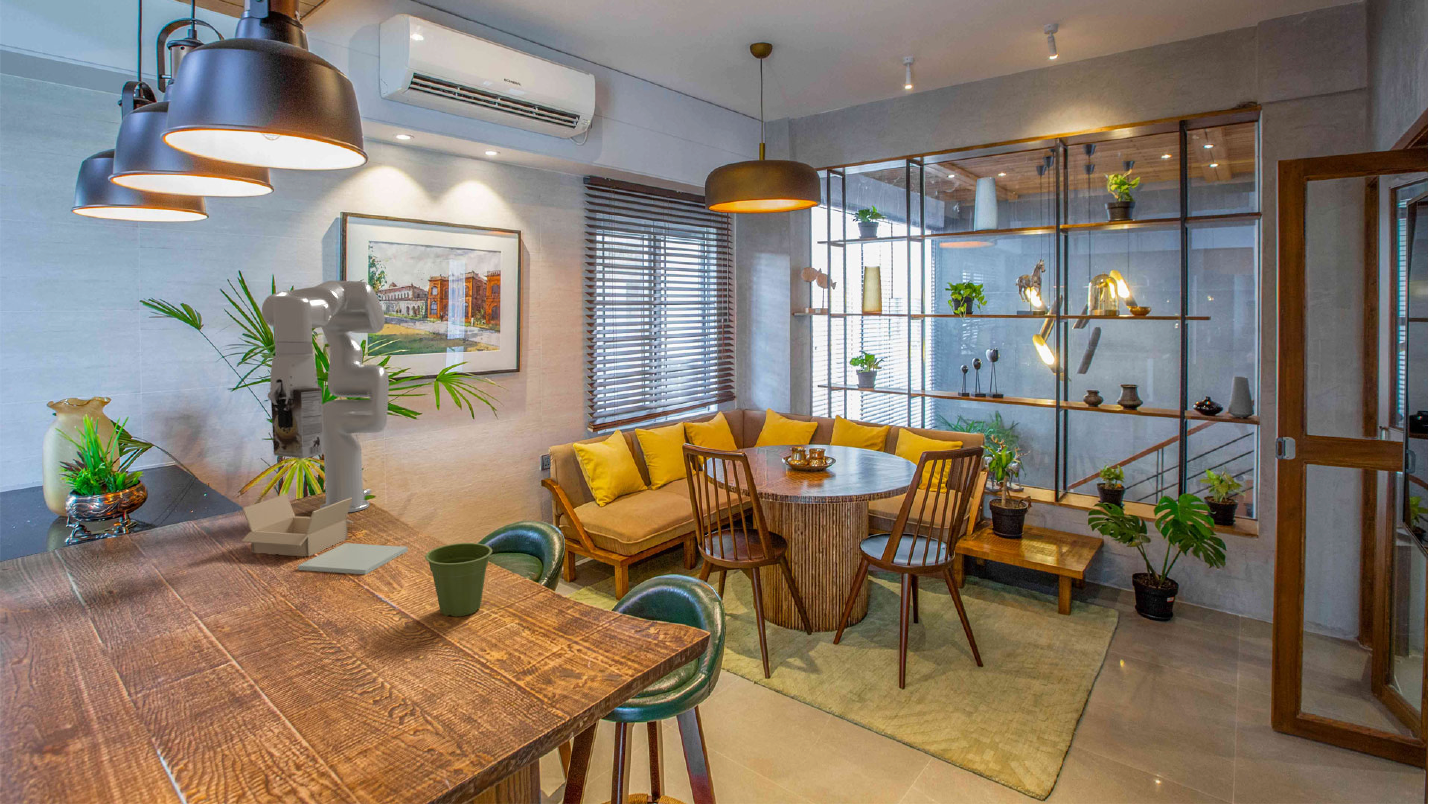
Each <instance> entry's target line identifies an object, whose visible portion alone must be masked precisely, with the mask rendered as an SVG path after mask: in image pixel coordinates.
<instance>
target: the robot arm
mask: <svg viewBox="0 0 1429 804" xmlns="http://www.w3.org/2000/svg"><path fill="white" fill-rule="evenodd" d="M261 306H262V307H261V314H262V318H263V320H264V321H265V323H266V324H267V325H269V326H270V327H272V328H273V332H274V334H273V335H274V351H275V353H274V354H275V355H273V356H272V361H271V369H270V388H271V390H270V391H269V392H268V393H267V398H268V400H270V403H271V402H272V404H273V405H274V406H275V409H276V410H278V426H279V427H282V428H291V427H292V426H293V423H292V410H289V409H290V406H291V399H292V398H293V390H294V389H300V388H322V387H321V385H320V384H319V383H318V373H317V367H316V361H315V356H314V353H313V329H319V328H321V330H322V332H323V334H324V336H325V339H326V341H327V343H328V346H329V353H330V354H329V363H328V365H329V366H328V375H327V387H328V388H327V389H328V391H329V393H330V394H331V395H332V396H334V397H340V398H369V399H336V400H335V399H334V400H333V399H332V400H329V401H326V402H325V403H322V416H323V446H324V454H323V458H324V459H323V462H324V483H325V484H324V485H325V487H324V488H325V502H324V503H323V504H321V505H320V507H319V509H321V508H324V507H327V506H329V505H332V504H335V503H337V502H340V501H343V500H346V499H348V498H352V502H351V505H350V508H349V511H348V513H354V512H359V511H362V510H365V509H368V508H369V507H370V502H369V500H366V499H365V498H366V497H367V496H370V495H371V494H372V489H370V488H365V489H363V488H364V487H363V462H362V447H361V444H360V443H359V441H358V440H357V439H356V438H355V437H354V436H353V434H373V433H380V432H382V431H384V430H385V428H386V426H387V421H388V409H389V391H390V390H389V389H390V386H389V385H390V384H389V383H390V380H389V374H388V371H387V370H386V369H385V367H383V366H382V365H378V364H377V365H376V364H363V356H364V352H363V348H362V346H361V345H360V344H359V342H358V341H357V340H356V339H355V338H354V337H352V335H351V334H354V333H355V334H376V333H379V332H381V331H382V330H383V329H384V327H385V323H386V318H385V316H386V315H385V314H384V313H385V312H384V310H383V307H382V305H381V303H380V300H379V298H378V296H377V293H376V292H375V290H374V289H373V287H372V286H371V285H370V284H369V283H367V282H365V281H362V280H361V281H358V280H357V281H356V280H355V281H353V280H328V281H325V282H322V283H320V284H318V285H315V286H311V287H304V288H298V289H291V290H284V291H280V292H279V291H278V292H275V293H272V294H270V295H268V296H267V297H266V298H265V300H264V301H263V303H262V305H261ZM279 393H280V394H279ZM283 394H286V397H283ZM278 396H279V397H278ZM283 401H286V402H285V404H284V402H283Z"/></svg>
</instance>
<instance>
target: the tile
mask: <svg viewBox="0 0 1429 804" xmlns="http://www.w3.org/2000/svg"><path fill="white" fill-rule="evenodd" d="M408 551H409V550H408V546H400V545H399V546H397V545H385V544H384V545H382V544H381V545H380V544H367V543H366V544H364V543H351V542H350V543H348V542H345V543H343V544H341V545H338V546H337V547H334V548H332V549H331V550H327V551H326V552H324V553H321V554H319V555H317V556H314V557H313V558H310V559H309V560H308V559H307V560H306V561H304V562H302V563H300V564H297V570H298V571H307V572H323V573H325V572H326V573H339V574H352V575H365V576H366V575H367V574H369V573H371V572H372V571H375V570H377V569H378V568H380V567H382V566H384V565H386V564H387V563H388V562H390V561H392V559H393V560H394V559H397V558H398V557H400V556H402V555H403V554H405V553H407V552H408ZM401 554H402V555H401ZM397 556H398V557H397Z"/></svg>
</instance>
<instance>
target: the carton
mask: <svg viewBox="0 0 1429 804" xmlns="http://www.w3.org/2000/svg"><path fill="white" fill-rule="evenodd" d="M351 502H352V498H348V499H346V500H343V501H340V502H337V503H335V504H332V505H329V506H327V507H324V508H321V509H320V508H318V509H316V510H314V511H312V513H311V516H305V515H302V516H301V515H296V514H295V512H294V510H293V507H292V504H291V502H290V499H289V497H288V494H287V493H285V494H283V495H280V496H277V497H273V498H270V499H267V500H263V501H261V502H260V501H259V502H258V503H254V504H251V505H248V506H247V505H246V506H244V507H242V508H241V509H242V512H243V515H244V517H245V520H246V522H247V525H248V528H249V530H250V531H249V532H248V533H247V534H246V535H245V536H244V538H243V539H242V540H241V543H247V544H250V546H251V547H250V550H251V553H252V554H260V553H270V554H269V555H275V554H279V555H280V556H293V557H295V556H296V557H306V556H309V557H311V556H313V554H314V553H316V554H318V553H320V552H322V551H324V549H325V550H327V549H329V548H331V547H333V546H335V544H336V545H338V544H339V542H340V543H342V542H344V541H346V540H345V539H347V540H348V524H354V520H353V521H352V520H350V519H348V518H347V517H348V511H349V508H350V505H351ZM337 543H338V544H337ZM332 545H333V546H332ZM326 548H327V549H326ZM279 555H278V556H279ZM314 555H315V554H314Z"/></svg>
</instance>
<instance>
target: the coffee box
mask: <svg viewBox="0 0 1429 804" xmlns="http://www.w3.org/2000/svg"><path fill="white" fill-rule="evenodd" d="M269 389H270V391H271V387H270V388H269ZM322 391H323V388H322V387H321V388H300V389H294V390H293V398H292V399H291V406H290V409H289V410H292V423H293V426H292V427H291V428H282V427H279V426H278V410H276V409H275V406H274V405H273V404H272V402H271V401H270V403H271V422H272V423H271V424H272V442H273V445H272V446H273V455H274V456H277V457H278V456H279V457H287V458H297V459H306V458H307V459H308V458H312V457H316V456H322V455H324V445H323V416H322V405H323V393H322ZM279 394H280V393H279ZM278 397H279V396H278ZM283 397H286V394H283ZM283 402H284V404H285V402H286V401H283Z"/></svg>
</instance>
